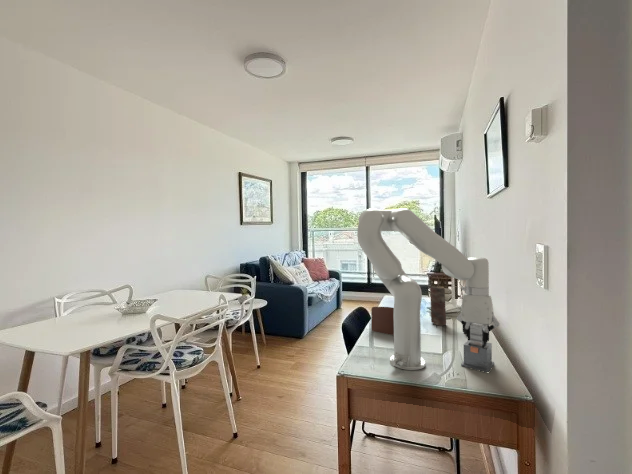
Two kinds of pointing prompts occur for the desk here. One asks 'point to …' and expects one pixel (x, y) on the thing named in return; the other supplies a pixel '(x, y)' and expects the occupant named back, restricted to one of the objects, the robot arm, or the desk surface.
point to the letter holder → (382, 320)
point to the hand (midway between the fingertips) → (477, 340)
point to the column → (476, 335)
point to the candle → (438, 305)
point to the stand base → (478, 357)
